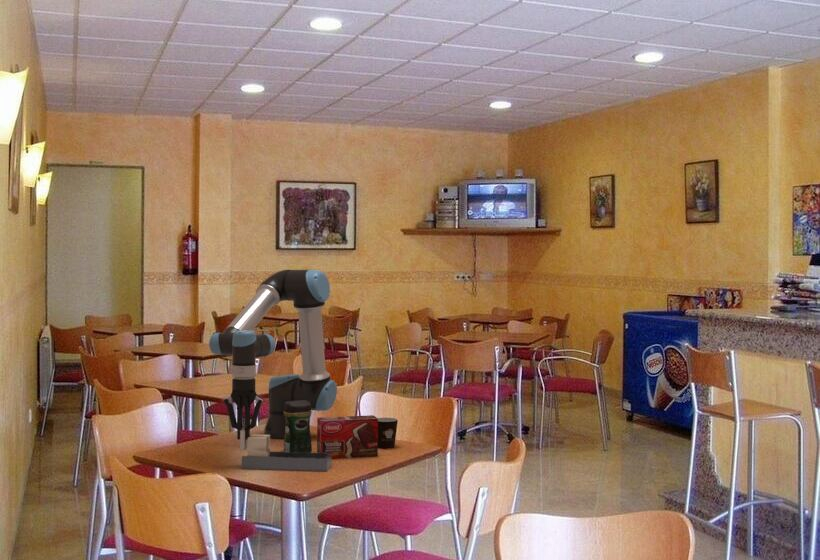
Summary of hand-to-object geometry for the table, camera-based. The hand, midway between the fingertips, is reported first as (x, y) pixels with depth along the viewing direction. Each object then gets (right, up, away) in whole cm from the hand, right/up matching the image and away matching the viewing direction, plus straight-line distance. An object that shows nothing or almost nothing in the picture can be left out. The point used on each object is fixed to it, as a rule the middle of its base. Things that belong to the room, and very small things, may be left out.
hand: (243, 449), depth 300 cm
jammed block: (+5, -4, 0) cm, 6 cm away
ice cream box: (+33, -6, +16) cm, 37 cm away
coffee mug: (+44, -5, +32) cm, 55 cm away
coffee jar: (+15, -5, +20) cm, 26 cm away
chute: (+15, -6, -1) cm, 16 cm away
